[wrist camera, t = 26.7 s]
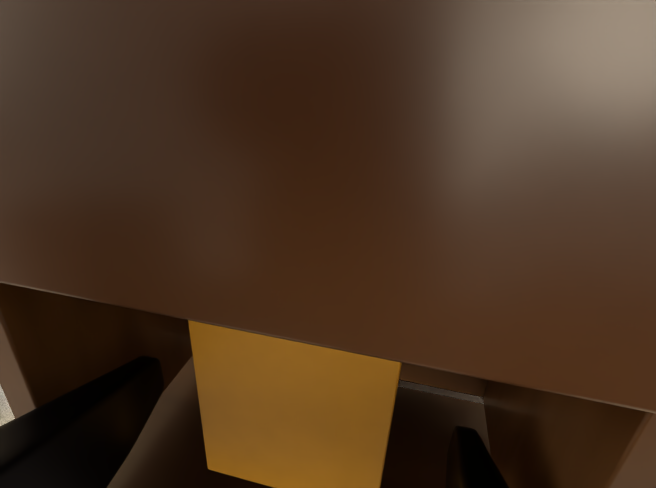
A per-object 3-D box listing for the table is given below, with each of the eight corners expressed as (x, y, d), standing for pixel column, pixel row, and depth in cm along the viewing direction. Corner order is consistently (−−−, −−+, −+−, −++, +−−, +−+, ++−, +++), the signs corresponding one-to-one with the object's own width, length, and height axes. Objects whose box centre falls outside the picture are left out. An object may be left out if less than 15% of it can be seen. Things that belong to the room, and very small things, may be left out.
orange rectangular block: (393, 372, 14) (375, 517, 10) (273, 347, 15) (207, 469, 11) (419, 215, 11) (409, 317, 7) (271, 195, 12) (180, 276, 8)
